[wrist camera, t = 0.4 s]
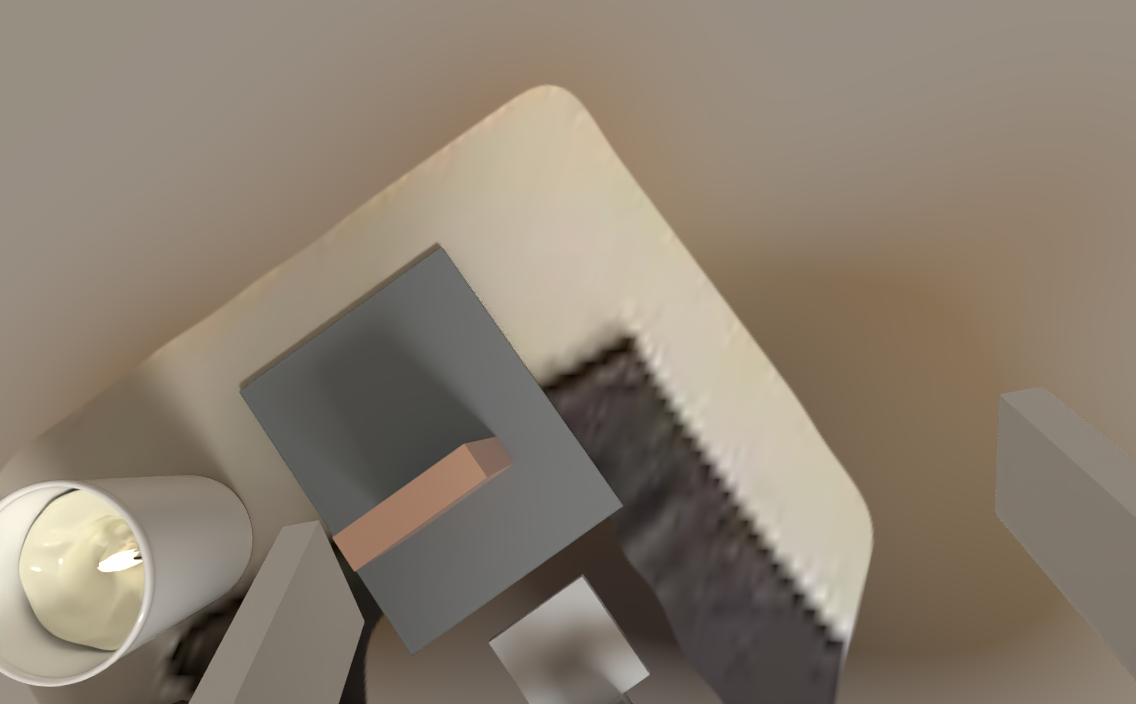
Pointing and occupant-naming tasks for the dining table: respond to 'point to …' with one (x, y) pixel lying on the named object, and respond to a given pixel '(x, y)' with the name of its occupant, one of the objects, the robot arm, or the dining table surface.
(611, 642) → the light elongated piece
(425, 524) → the tan rectangular bar
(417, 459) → the mat
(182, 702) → the beer bottle
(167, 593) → the white cup
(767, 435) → the dining table surface
